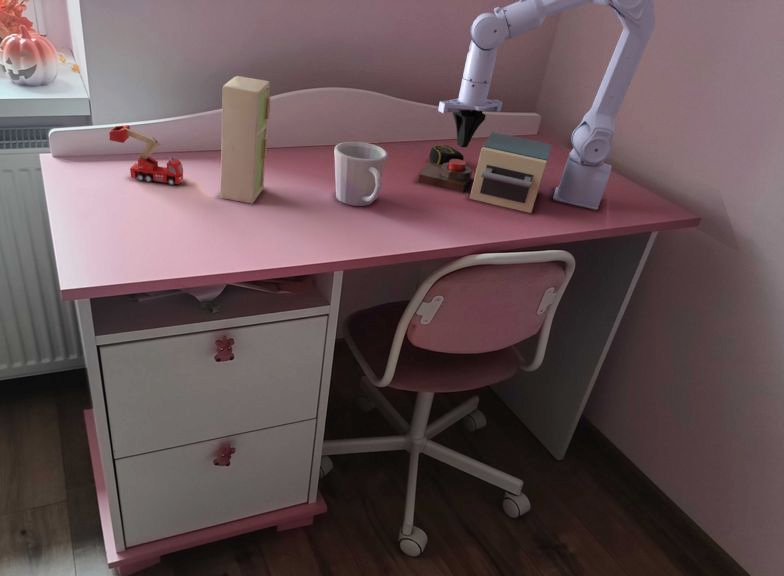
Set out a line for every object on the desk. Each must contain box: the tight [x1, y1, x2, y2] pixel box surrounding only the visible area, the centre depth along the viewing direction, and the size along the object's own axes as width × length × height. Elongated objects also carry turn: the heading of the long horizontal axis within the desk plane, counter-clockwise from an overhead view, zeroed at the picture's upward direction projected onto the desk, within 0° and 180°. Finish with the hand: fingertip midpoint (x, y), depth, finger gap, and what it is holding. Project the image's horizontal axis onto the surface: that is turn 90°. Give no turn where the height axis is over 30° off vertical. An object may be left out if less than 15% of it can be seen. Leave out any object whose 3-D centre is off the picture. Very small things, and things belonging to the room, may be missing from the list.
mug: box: [333, 141, 389, 207], centre depth 131 cm, size 10×15×10 cm
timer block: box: [417, 161, 473, 193], centre depth 148 cm, size 10×9×4 cm
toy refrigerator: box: [220, 75, 271, 204], centre depth 125 cm, size 8×7×21 cm
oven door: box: [469, 146, 548, 214], centre depth 136 cm, size 5×13×11 cm, turn 69°
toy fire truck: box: [108, 125, 184, 186], centre depth 130 cm, size 3×14×10 cm, turn 84°
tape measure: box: [428, 144, 465, 165], centre depth 156 cm, size 7×7×4 cm
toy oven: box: [482, 131, 553, 204], centre depth 142 cm, size 11×13×11 cm
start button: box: [448, 159, 467, 172], centre depth 146 cm, size 4×4×2 cm
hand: (462, 145), depth 143 cm, fingers closed
